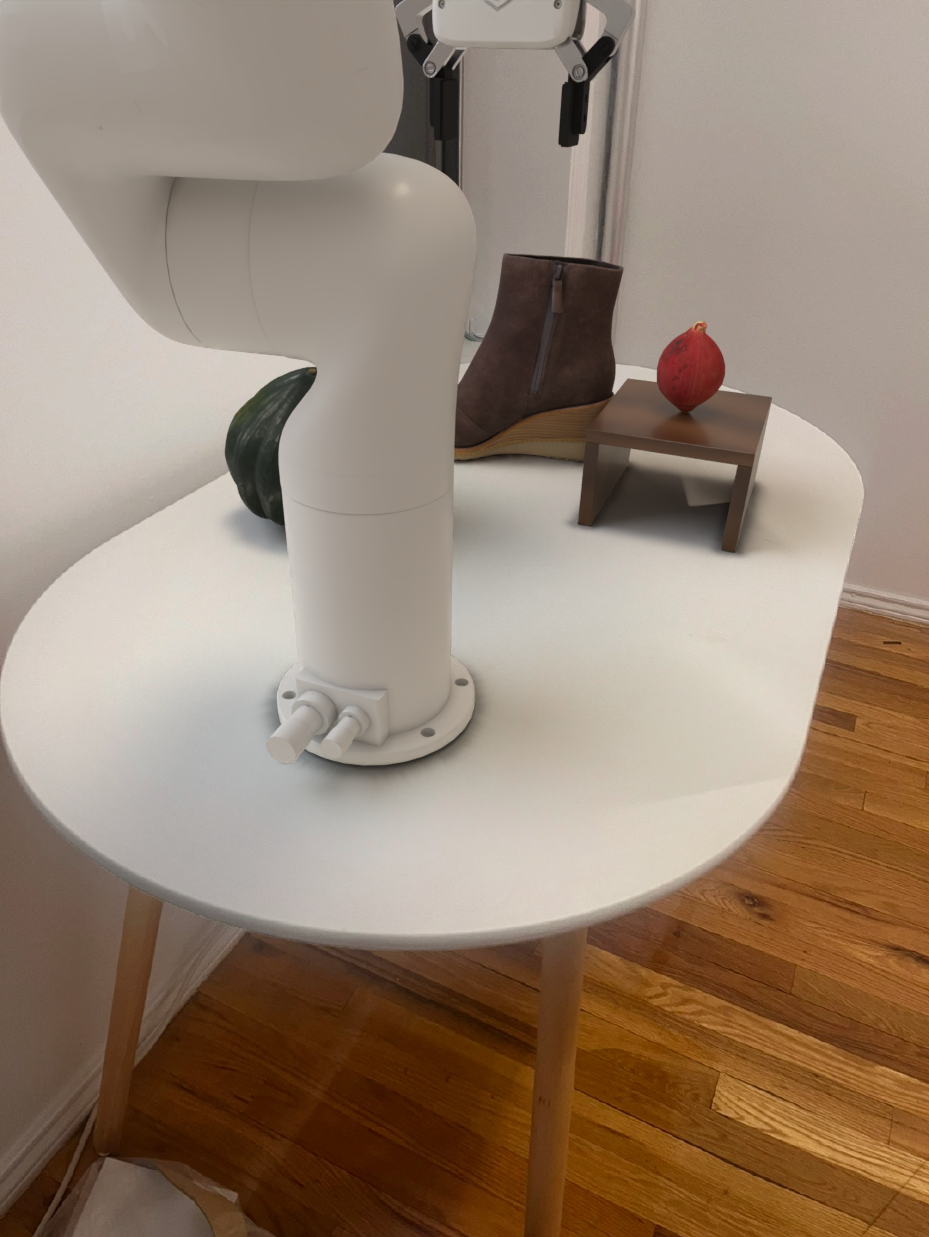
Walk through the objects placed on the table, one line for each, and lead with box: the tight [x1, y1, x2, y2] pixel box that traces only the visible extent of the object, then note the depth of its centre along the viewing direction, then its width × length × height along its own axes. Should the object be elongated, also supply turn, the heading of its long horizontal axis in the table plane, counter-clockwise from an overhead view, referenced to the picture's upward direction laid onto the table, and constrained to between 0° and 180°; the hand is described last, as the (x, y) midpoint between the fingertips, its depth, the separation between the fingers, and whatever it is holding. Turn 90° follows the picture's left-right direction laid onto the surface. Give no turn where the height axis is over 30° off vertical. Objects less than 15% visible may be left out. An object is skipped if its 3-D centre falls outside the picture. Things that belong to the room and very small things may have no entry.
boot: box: [454, 252, 625, 462], centre depth 90 cm, size 9×24×20 cm, turn 84°
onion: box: [656, 320, 726, 413], centre depth 77 cm, size 6×6×8 cm
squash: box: [224, 366, 317, 527], centre depth 77 cm, size 14×15×15 cm
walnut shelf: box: [577, 377, 773, 553], centre depth 82 cm, size 16×14×9 cm
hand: (505, 142), depth 66 cm, fingers open, 9 cm apart
